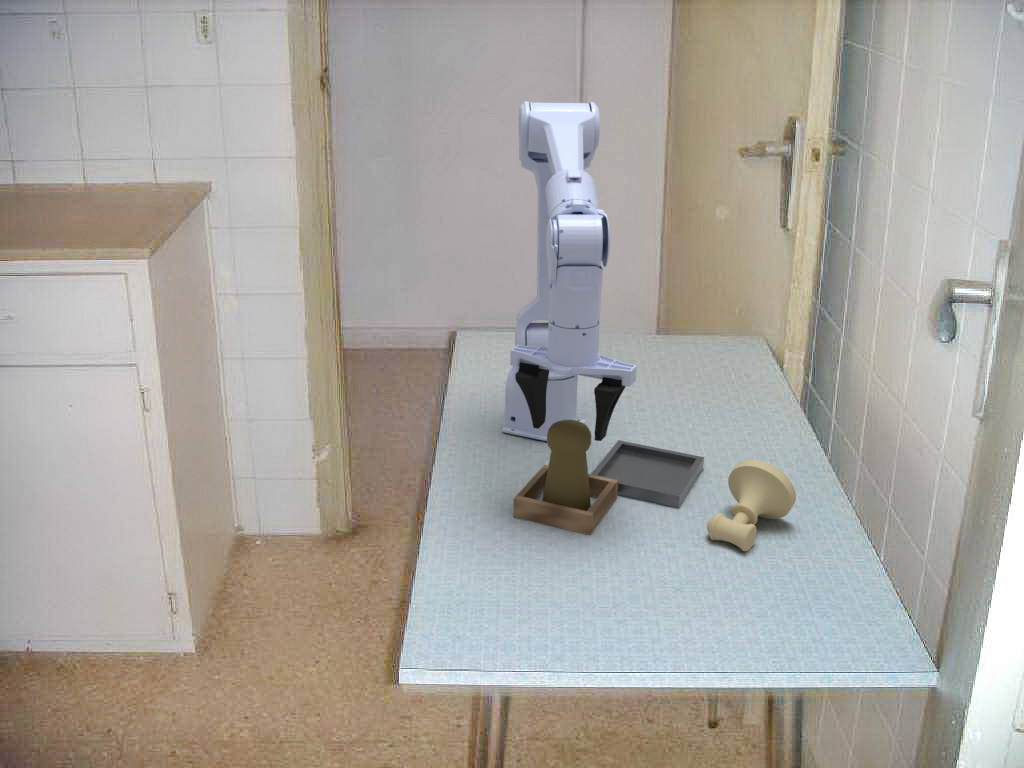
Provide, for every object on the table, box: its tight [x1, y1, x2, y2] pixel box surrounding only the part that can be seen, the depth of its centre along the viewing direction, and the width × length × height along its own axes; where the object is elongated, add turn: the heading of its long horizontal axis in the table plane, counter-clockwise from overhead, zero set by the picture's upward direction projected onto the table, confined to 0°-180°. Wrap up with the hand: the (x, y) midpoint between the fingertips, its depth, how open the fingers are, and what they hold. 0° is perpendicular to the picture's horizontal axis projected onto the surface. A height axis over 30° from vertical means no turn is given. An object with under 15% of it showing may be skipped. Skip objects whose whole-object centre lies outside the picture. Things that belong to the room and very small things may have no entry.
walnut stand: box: [512, 464, 618, 536], centre depth 129 cm, size 10×10×2 cm
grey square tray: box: [590, 439, 705, 509], centre depth 137 cm, size 12×12×2 cm
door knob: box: [706, 459, 797, 552], centre depth 125 cm, size 10×8×8 cm
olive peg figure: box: [541, 420, 592, 511], centre depth 128 cm, size 6×6×11 cm
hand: (569, 431), depth 126 cm, fingers open, 7 cm apart
